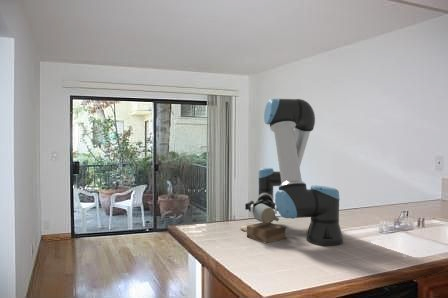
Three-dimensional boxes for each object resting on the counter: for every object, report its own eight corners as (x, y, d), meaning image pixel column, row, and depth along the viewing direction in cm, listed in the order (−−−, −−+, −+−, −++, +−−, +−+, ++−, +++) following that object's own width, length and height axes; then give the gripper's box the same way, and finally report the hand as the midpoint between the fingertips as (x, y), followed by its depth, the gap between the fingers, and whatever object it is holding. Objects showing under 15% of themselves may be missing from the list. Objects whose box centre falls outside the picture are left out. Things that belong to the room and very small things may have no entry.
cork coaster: (262, 229, 173) (262, 228, 173) (249, 232, 167) (249, 231, 167) (250, 225, 180) (250, 224, 180) (236, 228, 174) (236, 227, 174)
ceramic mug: (262, 225, 154) (262, 207, 154) (252, 221, 161) (252, 203, 161) (282, 222, 158) (283, 205, 158) (272, 219, 166) (272, 202, 165)
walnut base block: (285, 238, 158) (285, 226, 158) (266, 243, 151) (266, 231, 151) (266, 232, 168) (266, 221, 168) (246, 236, 160) (246, 225, 160)
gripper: (288, 209, 175) (290, 219, 153) (242, 208, 179) (237, 218, 156) (288, 194, 175) (290, 202, 153) (242, 193, 178) (237, 201, 156)
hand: (263, 210), depth 155 cm, fingers closed on ceramic mug, 10 cm apart
